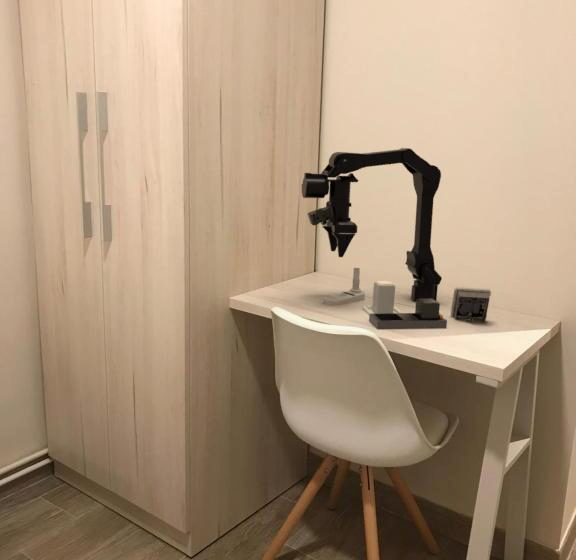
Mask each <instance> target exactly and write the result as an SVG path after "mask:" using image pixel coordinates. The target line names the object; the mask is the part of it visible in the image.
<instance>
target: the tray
mask: <svg viewBox="0 0 576 560" xmlns="http://www.w3.org/2000/svg"><path fill="white" fill-rule="evenodd" d="M361 310H362V311H364V312H365V314H366V315H368V316H369V314H370V313H374V312H373V311H372V305H370V306H369V305H368V306H365V305H364V306H363V305H362V308H361ZM393 313H403V312H402V311H401V310H400V309H398V308H397V307H396V306H394V311H393Z"/></svg>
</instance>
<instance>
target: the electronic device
mask: <svg viewBox="0 0 576 560" xmlns="http://www.w3.org/2000/svg"><path fill="white" fill-rule="evenodd" d="M360 270H361V268H360V267H354V268H353V275H352V287H351V288H350V290H346V291H342V292H338V293H333V294H328V295H325V296H323V299H322V300H323V301H322V303H323V304H324V305H325V306H329V307H331V306H332V307H338V306H344V305H349V304H352V303H357V302H361V301H364V300H365V297H366V293H365V292H364V291H362V289H361V288H360V280H361V279H360V272H361V271H360Z"/></svg>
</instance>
